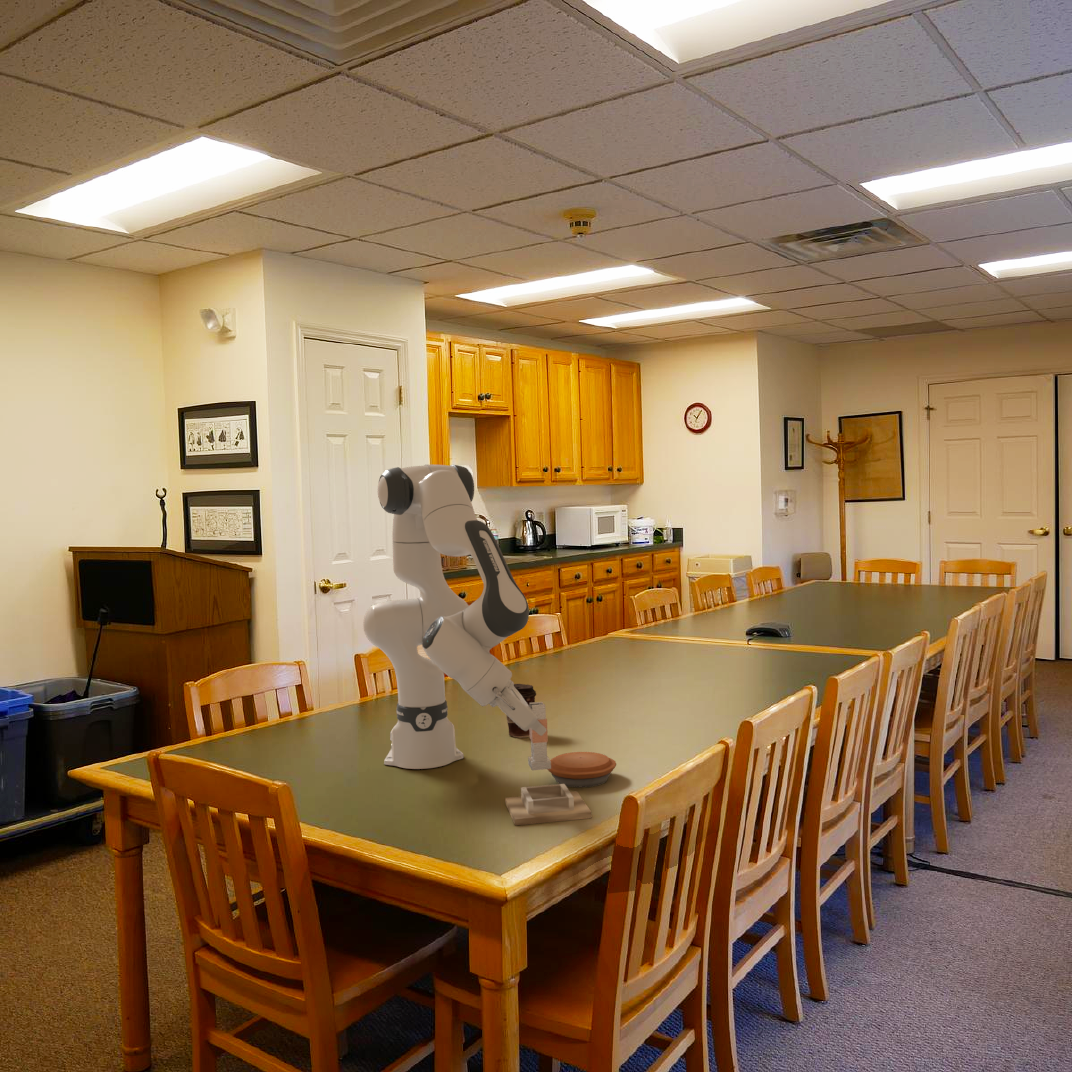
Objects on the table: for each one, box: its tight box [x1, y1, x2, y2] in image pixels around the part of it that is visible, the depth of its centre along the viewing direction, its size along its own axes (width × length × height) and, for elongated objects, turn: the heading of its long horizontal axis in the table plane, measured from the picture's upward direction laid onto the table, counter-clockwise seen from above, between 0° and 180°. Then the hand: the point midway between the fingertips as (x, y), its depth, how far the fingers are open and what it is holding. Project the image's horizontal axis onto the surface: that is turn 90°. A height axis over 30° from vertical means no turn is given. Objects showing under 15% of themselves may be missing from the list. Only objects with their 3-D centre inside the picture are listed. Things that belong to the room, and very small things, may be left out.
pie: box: [546, 751, 617, 788], centre depth 209 cm, size 15×16×5 cm
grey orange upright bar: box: [527, 701, 551, 771], centre depth 188 cm, size 4×4×12 cm
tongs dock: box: [504, 783, 592, 826], centre depth 189 cm, size 13×15×4 cm
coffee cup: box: [505, 683, 537, 739], centre depth 248 cm, size 9×8×13 cm
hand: (541, 729), depth 188 cm, fingers closed on grey orange upright bar, 4 cm apart
